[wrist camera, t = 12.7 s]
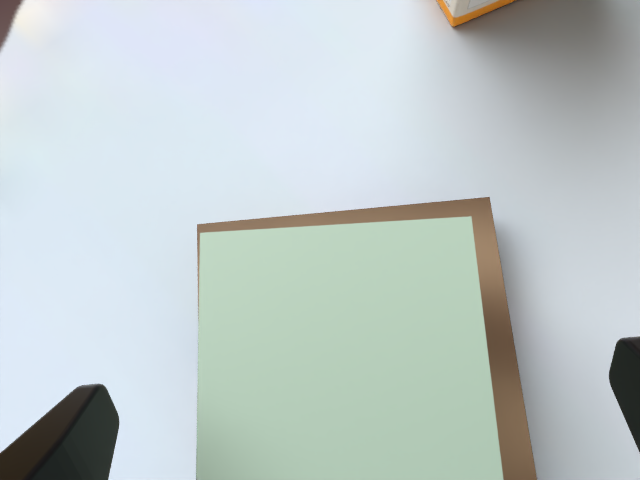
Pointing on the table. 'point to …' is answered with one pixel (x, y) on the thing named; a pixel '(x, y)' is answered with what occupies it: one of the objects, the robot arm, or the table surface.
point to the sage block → (344, 354)
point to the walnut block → (494, 303)
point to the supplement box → (468, 9)
